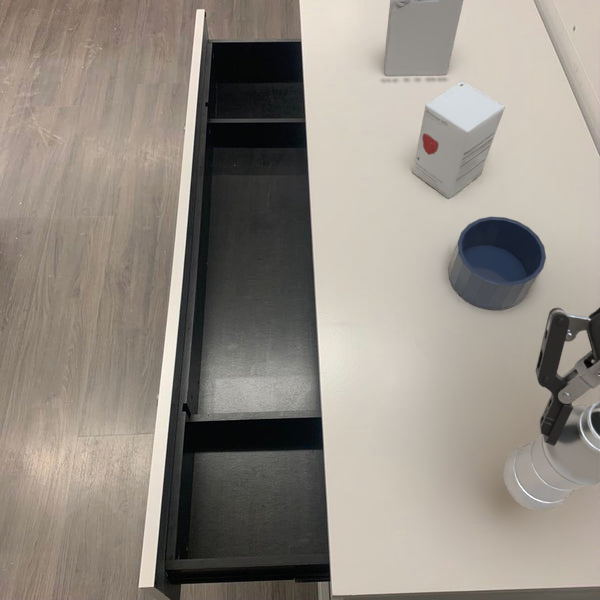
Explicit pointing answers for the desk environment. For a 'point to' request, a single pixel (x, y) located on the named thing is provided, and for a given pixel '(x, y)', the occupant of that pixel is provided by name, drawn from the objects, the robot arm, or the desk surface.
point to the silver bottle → (557, 462)
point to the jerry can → (420, 36)
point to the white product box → (456, 138)
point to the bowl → (496, 263)
